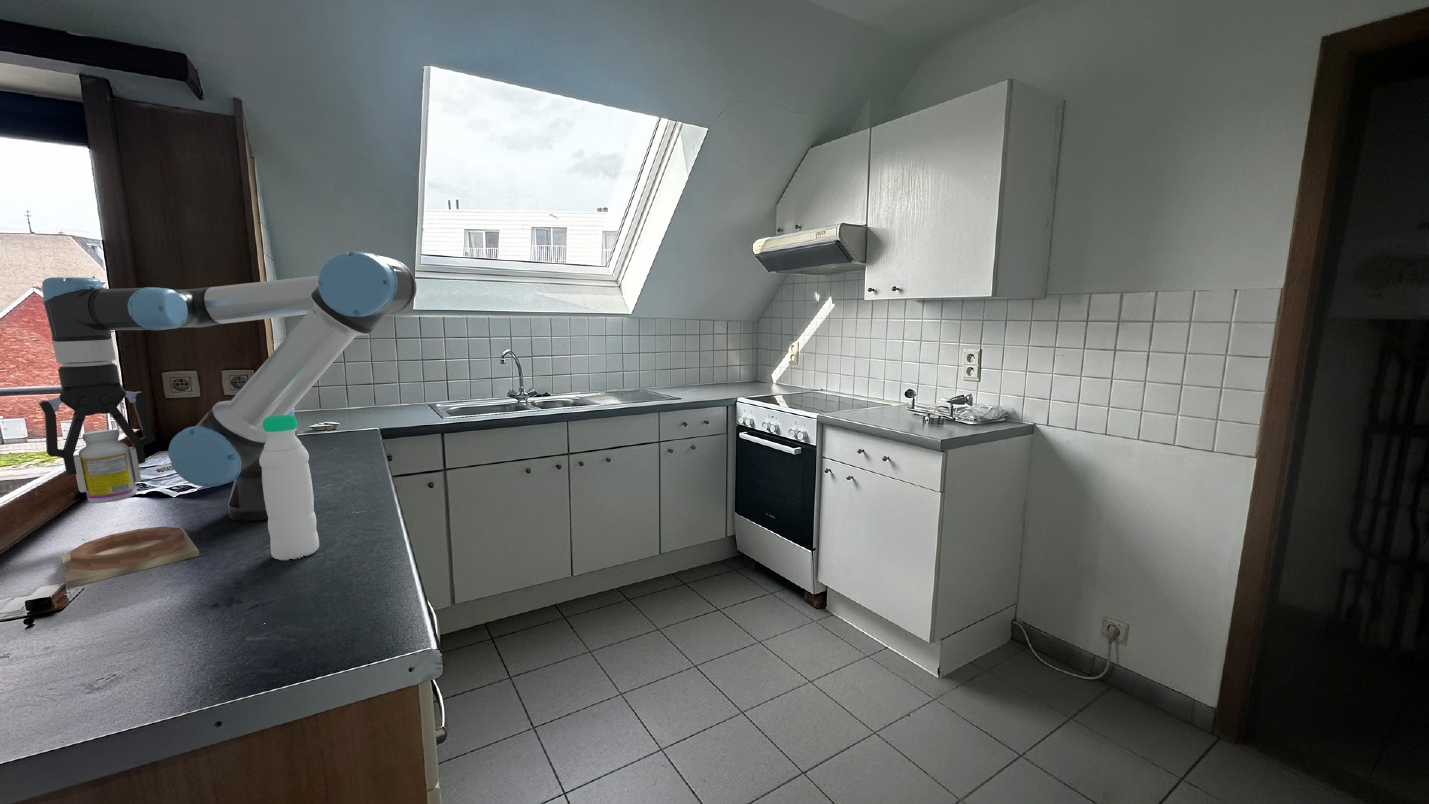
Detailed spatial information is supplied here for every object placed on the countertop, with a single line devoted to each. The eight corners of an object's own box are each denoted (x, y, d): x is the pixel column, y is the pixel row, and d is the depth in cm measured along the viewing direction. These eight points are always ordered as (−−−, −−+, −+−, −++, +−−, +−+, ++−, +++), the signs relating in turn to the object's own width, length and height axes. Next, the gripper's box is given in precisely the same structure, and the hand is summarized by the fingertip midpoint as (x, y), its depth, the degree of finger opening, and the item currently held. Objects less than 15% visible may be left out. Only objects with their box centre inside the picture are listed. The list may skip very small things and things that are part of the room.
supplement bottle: (100, 495, 114) (87, 430, 112) (144, 491, 117) (133, 427, 115) (79, 506, 108) (65, 437, 106) (126, 501, 111) (113, 433, 108)
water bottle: (328, 549, 108) (313, 414, 104) (287, 564, 102) (269, 421, 98) (304, 543, 111) (288, 411, 107) (263, 557, 105) (244, 418, 101)
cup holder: (183, 533, 116) (181, 518, 116) (199, 555, 106) (197, 539, 105) (62, 559, 104) (59, 543, 104) (67, 587, 94) (64, 570, 93)
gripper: (155, 358, 118) (174, 470, 122) (3, 368, 103) (30, 495, 107) (163, 360, 114) (183, 476, 117) (5, 370, 98) (34, 503, 102)
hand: (110, 485), depth 112 cm, fingers closed on supplement bottle, 7 cm apart
